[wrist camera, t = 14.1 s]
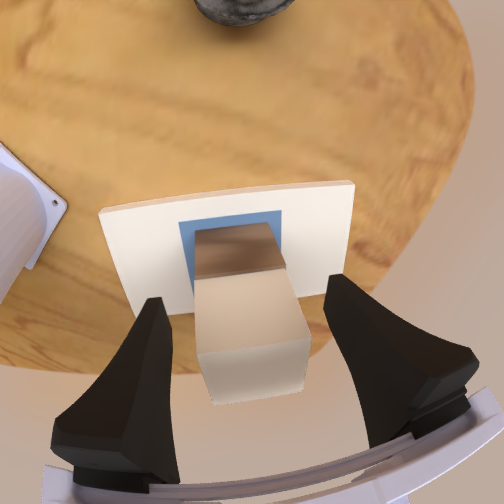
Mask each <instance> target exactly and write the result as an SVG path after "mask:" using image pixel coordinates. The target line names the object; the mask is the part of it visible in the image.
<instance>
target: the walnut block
mask: <svg viewBox="0 0 504 504" xmlns="http://www.w3.org/2000/svg"><path fill="white" fill-rule="evenodd" d="M283 268H285V270H286V263H285V261H284V258H283V256H282V254H281V251H280V249H279V247H278V244H277V242H276V240H275V237H274V235H273V233H272V231H271V228H270V226H269V224H268V222H263V223H254V224H245V225H236V226H227V227H219V228H210V229H202V230H195V280H201V279H209V278H217V277H225V276H232V275H240V274H247V273H255V272H262V271H269V270H276V269H283Z"/></svg>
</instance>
